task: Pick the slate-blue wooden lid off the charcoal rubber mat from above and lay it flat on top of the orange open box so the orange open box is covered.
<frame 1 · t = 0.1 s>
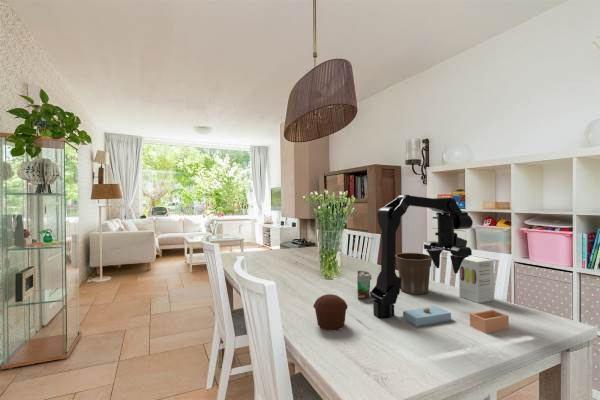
hand: (446, 270, 116), 15 cm above the table, tool pointing down, fingers open, 9 cm apart
muffin: (330, 325, 103), on the table
supplement box: (476, 299, 127), on the table
lid: (426, 319, 104), point 1 cm above the table, touching mat
food container: (365, 296, 133), on the table
plant pot: (414, 291, 139), on the table
orange open box: (489, 330, 97), on the table
mat: (426, 322, 104), on the table
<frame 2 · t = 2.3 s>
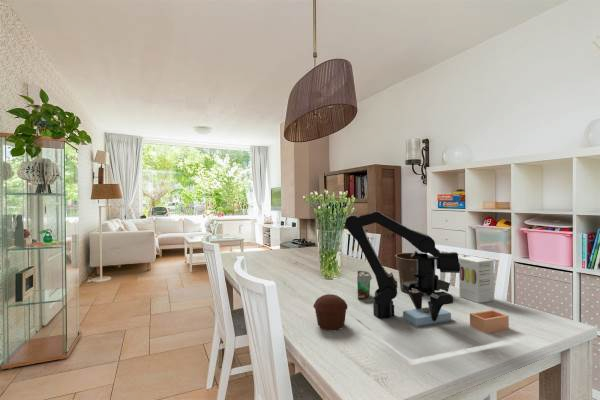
hand: (426, 316, 104), 2 cm above the table, tool pointing down, fingers closed on lid, 7 cm apart
lid: (426, 319, 104), point 1 cm above the table, touching gripper, mat
everything else where it was.
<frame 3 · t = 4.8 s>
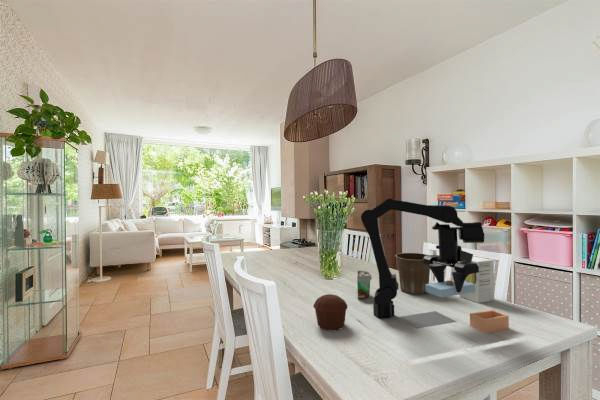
hand: (450, 289, 101), 12 cm above the table, tool pointing down, fingers closed on lid, 7 cm apart
lid: (450, 291, 101), point 11 cm above the table, touching gripper
everything else where it was.
when the fingers open (7 cm above the table, at t = 7.1 s): lid drops 1 cm, resting on orange open box.
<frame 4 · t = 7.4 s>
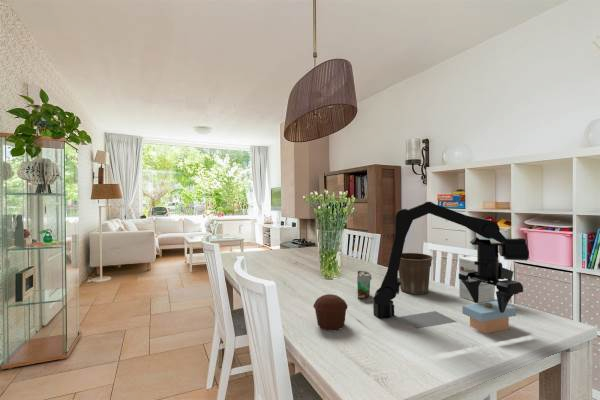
hand: (488, 307, 97), 7 cm above the table, tool pointing down, fingers open, 9 cm apart
lid: (488, 314, 97), point 5 cm above the table, touching orange open box
everything else where it was.
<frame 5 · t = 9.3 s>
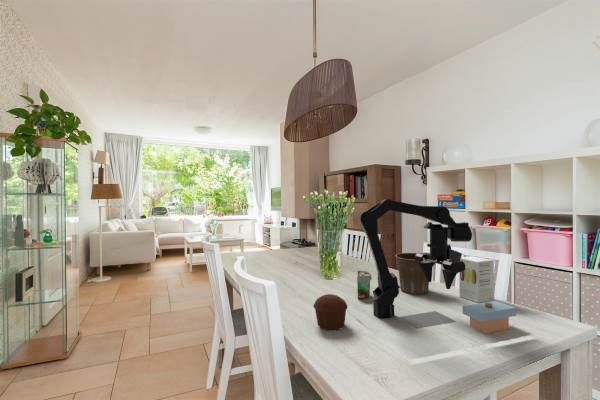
hand: (438, 285, 107), 12 cm above the table, tool pointing down, fingers open, 9 cm apart
nothing on the table moved.
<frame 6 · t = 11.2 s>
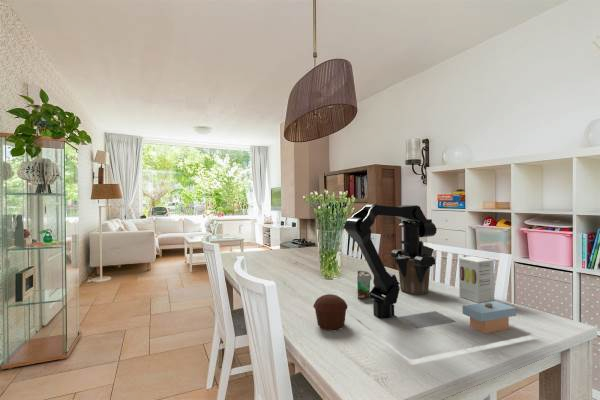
hand: (412, 279, 114), 12 cm above the table, tool pointing down, fingers open, 9 cm apart
nothing on the table moved.
at the end: lid 0.0 cm off-centre on the orange open box, point 5.0 cm above the orange open box's base; lid tilted 0°; the gripper is holding nothing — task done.
